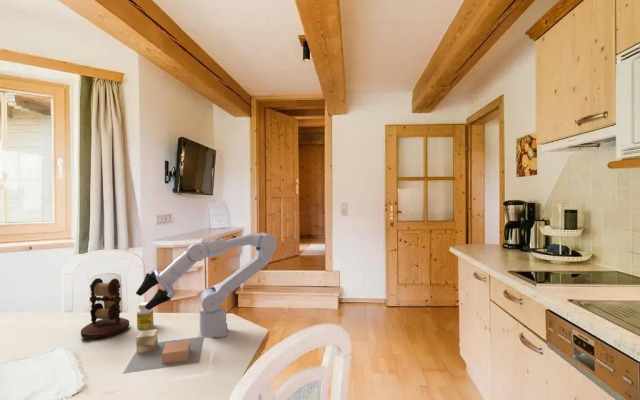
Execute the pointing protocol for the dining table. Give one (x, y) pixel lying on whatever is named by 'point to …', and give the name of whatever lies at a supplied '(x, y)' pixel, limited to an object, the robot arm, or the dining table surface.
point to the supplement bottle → (144, 317)
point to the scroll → (105, 310)
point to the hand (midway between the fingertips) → (142, 301)
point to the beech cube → (146, 341)
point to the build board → (157, 356)
